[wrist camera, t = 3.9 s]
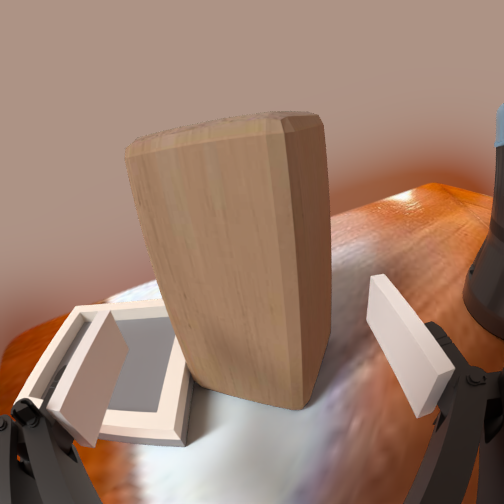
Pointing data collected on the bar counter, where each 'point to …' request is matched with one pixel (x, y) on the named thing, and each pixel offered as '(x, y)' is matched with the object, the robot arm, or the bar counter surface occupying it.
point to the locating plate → (129, 374)
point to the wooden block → (241, 248)
